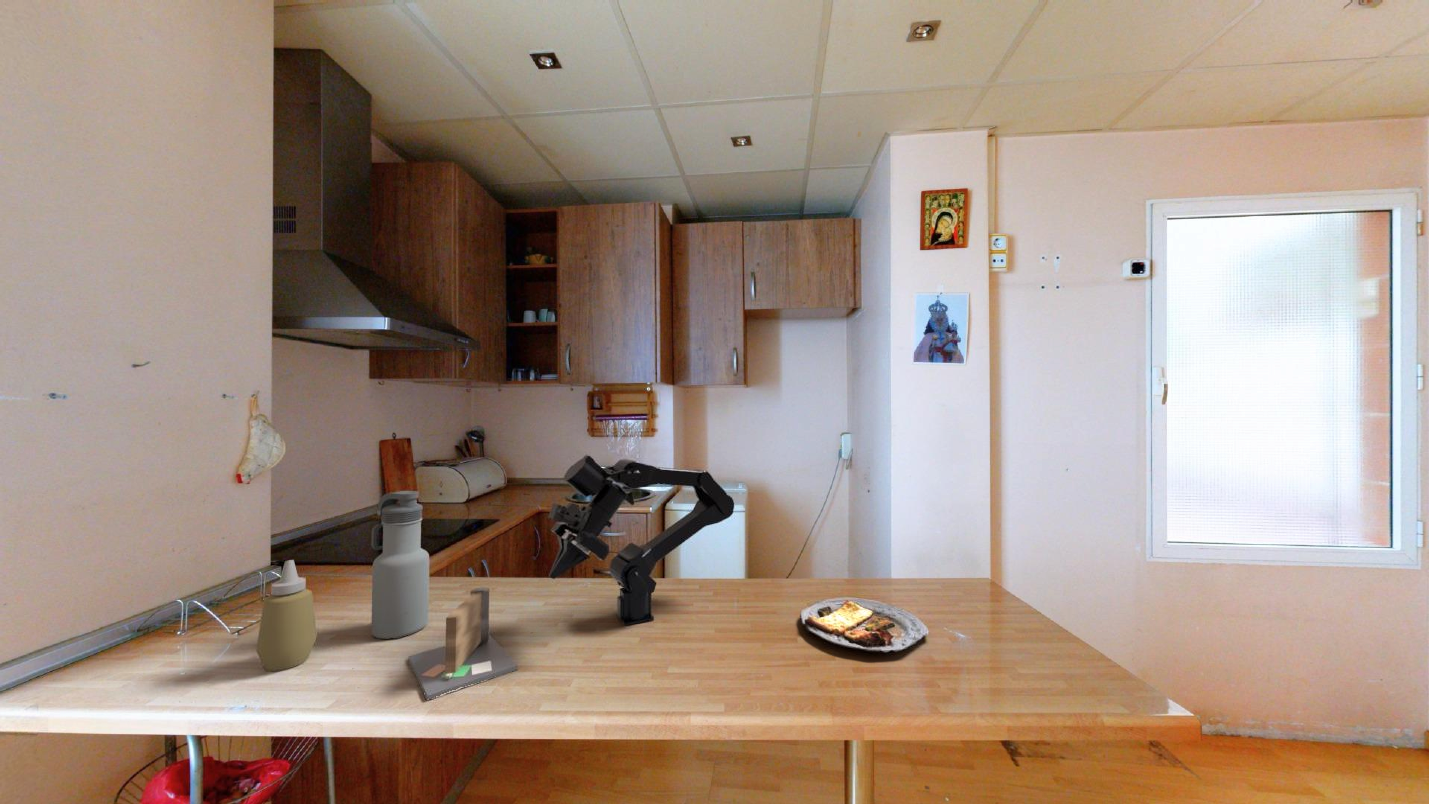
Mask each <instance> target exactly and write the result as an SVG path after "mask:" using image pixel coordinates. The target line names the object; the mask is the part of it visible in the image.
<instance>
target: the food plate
mask: <svg viewBox="0 0 1429 804" xmlns="http://www.w3.org/2000/svg"><path fill="white" fill-rule="evenodd" d="M873 616H874V617H873ZM799 618H800V622H801V625H802V626H803V627H804V628H805V629H806V630H807V632H808V633H809V632H810V633H812V634H813V635H816V636H817V637H818V638H820V639H823V640H826V641H827V642H829V643H830V644H835V645H837V646H840V647H845V648H847V649H848V648H851V649H856V650H862V651H865V652H870V653H871V652H874V653H876V652H878V653H879V655H881V653H884V654H886V653H889V652H890V651H893V653H897V652H900V651H902V650H905V649H907V648H908V647H910V646H913V645H914V644H916V643H917V642H918V641H920V640H922V638H923V637H924V636H928V635H929V628H928V627H927V626H926V625H925V623H923V622H922V621H921V620H920V619H919V618H918V617H917V616H915V615H914V614H913V613H911V612H908V611H906V610H905V609H904V608H900V607H898V606H895V605H892V604H889V603H885V602H884V603H883V602H881V601H878V600H872V599H871V600H870V599H865V598H857V597H837V598H823V599H820V600H818V601H816V602H814V603H812V604H810V605H808V606H807V607H805V608H803V609H802V610H801V611H800V614H799ZM868 620H869V621H868ZM863 623H866V624H863ZM858 626H860V627H858ZM861 626H865V627H861ZM896 626H898V628H897V629H901V632H902V633H901V634H900V635H901V636H900V637H898V638H896V637H895V636H898V633H896V631H894V633H892V632H891V628H895V627H896ZM862 629H865V630H862Z"/></svg>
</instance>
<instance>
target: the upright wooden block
mask: <svg viewBox="0 0 1429 804" xmlns="http://www.w3.org/2000/svg"><path fill="white" fill-rule="evenodd" d="M489 626H490V588H489V587H477V588H474V589H472V590H470V595H469V596H468V597H467V598H466V599H465V600H464V601H463V602H461V604H459V605H458V606H457V607H456V608H455V609H454V610H453V611H451V613H450V614H448V615H447V616H446V617H445V645H446V657H445V673H447V675H446V676H445V679H447V678H450V677H451V676H452V675H453V674H454V673H455V672H456V671H457V670H458V669H459V667H460V666H461V665H462V664H463V663H464V661H465V660H466V659H467V658H468V657H469V655H470V654H471V653H472V652H473V651H474V649H475V648H476V647H477V646H478V645H479V644H482V643H485V642H487V641H488V639H489V634H490V627H489Z"/></svg>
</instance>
